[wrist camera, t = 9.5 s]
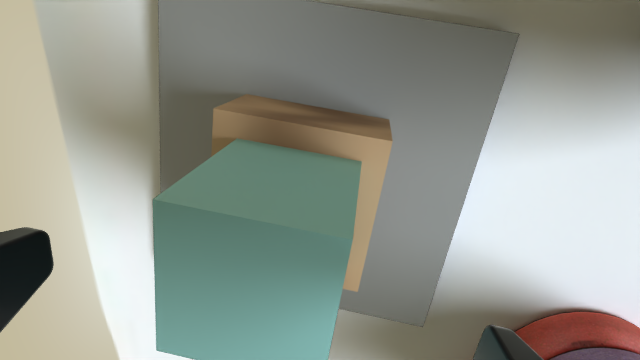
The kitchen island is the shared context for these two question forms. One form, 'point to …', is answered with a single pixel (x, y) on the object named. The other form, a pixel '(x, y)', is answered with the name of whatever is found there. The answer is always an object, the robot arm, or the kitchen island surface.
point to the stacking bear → (582, 337)
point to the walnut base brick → (316, 150)
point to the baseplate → (349, 96)
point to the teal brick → (254, 254)
